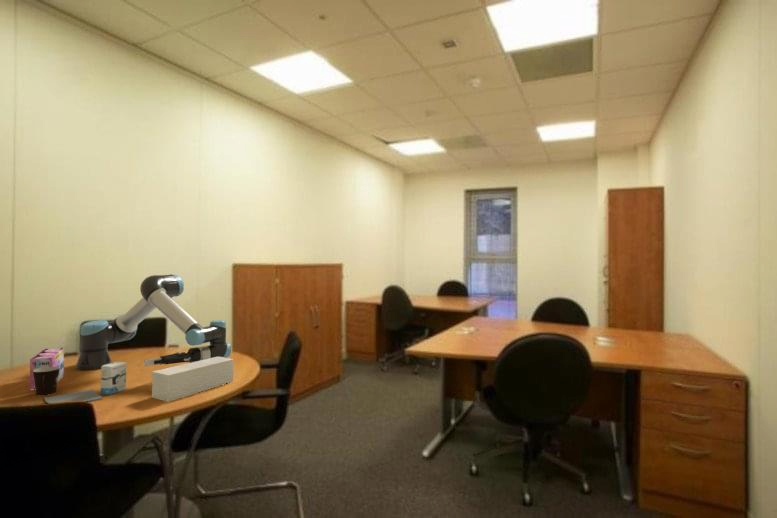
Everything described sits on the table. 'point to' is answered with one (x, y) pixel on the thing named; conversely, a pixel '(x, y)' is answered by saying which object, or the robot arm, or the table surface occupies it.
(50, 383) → the coffee mug
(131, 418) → the table surface
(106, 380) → the ink box
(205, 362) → the long white block
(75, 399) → the felt pad
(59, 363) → the gum box
